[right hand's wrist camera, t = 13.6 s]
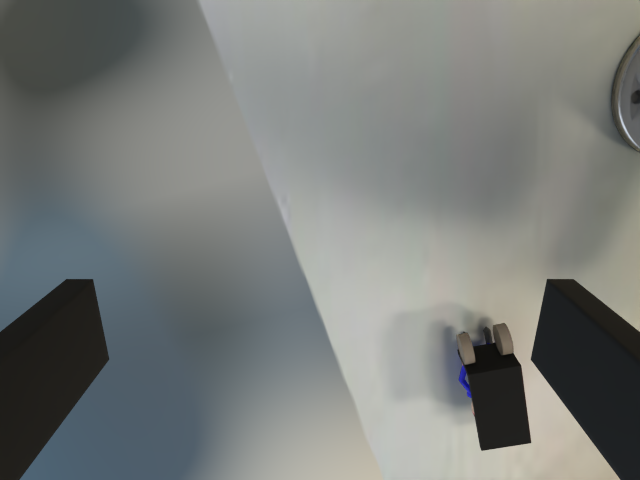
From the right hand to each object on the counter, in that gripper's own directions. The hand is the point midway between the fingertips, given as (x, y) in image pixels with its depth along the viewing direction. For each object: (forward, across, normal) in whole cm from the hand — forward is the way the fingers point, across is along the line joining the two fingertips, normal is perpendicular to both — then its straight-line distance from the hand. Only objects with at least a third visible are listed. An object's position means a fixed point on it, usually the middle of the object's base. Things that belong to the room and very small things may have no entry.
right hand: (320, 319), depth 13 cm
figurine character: (+37, -21, +28) cm, 51 cm away
